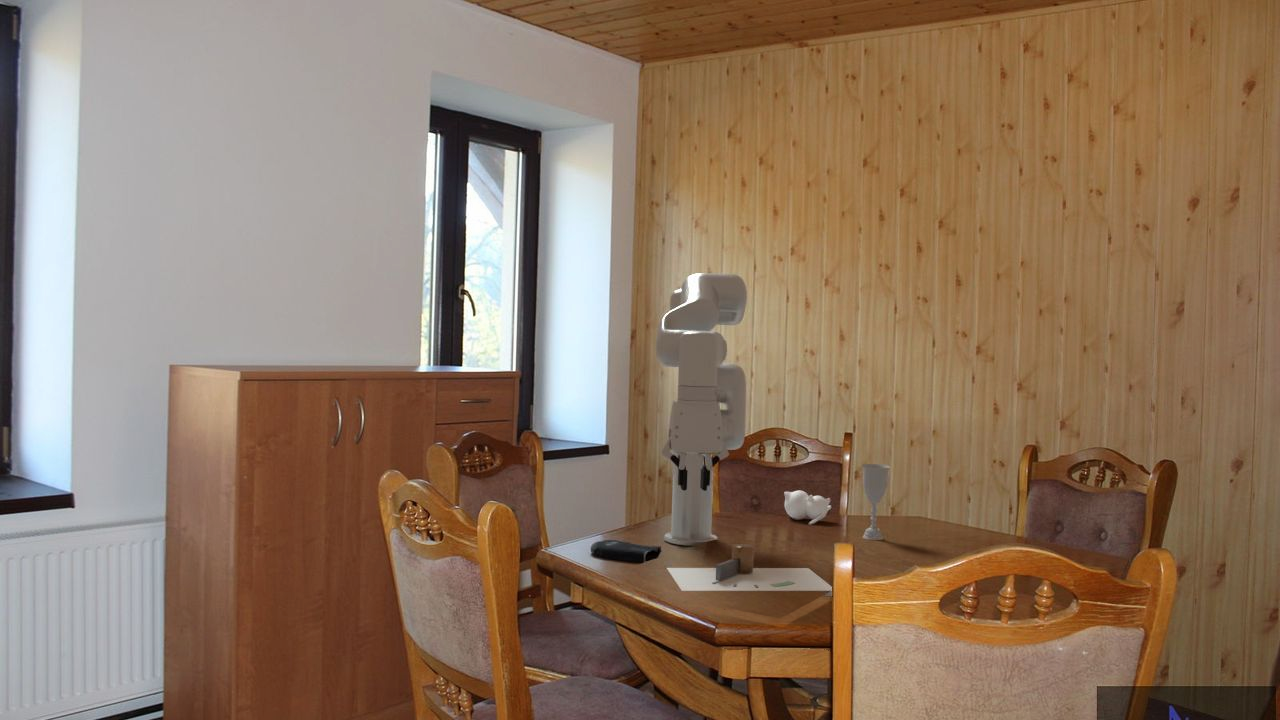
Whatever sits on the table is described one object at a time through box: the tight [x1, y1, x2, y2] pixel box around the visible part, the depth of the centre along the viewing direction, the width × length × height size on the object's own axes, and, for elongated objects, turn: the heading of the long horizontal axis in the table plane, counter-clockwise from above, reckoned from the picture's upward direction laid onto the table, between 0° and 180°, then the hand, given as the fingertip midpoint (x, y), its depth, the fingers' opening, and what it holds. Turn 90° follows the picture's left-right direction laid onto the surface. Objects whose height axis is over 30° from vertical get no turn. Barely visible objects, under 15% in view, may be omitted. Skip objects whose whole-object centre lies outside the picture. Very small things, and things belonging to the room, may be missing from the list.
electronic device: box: [590, 539, 662, 563], centre depth 221 cm, size 9×6×15 cm
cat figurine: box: [783, 490, 832, 526], centre depth 271 cm, size 9×11×12 cm
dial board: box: [666, 567, 833, 598], centre depth 199 cm, size 18×30×1 cm, turn 98°
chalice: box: [861, 463, 891, 541], centre depth 250 cm, size 7×7×18 cm
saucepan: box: [715, 543, 755, 581], centre depth 201 cm, size 13×4×5 cm, turn 148°
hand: (693, 488), depth 195 cm, fingers open, 3 cm apart
